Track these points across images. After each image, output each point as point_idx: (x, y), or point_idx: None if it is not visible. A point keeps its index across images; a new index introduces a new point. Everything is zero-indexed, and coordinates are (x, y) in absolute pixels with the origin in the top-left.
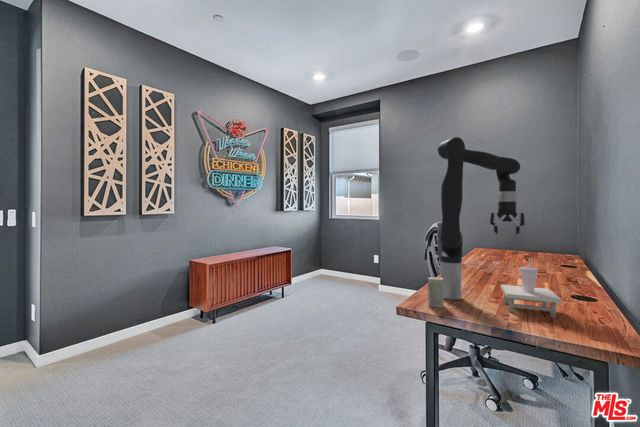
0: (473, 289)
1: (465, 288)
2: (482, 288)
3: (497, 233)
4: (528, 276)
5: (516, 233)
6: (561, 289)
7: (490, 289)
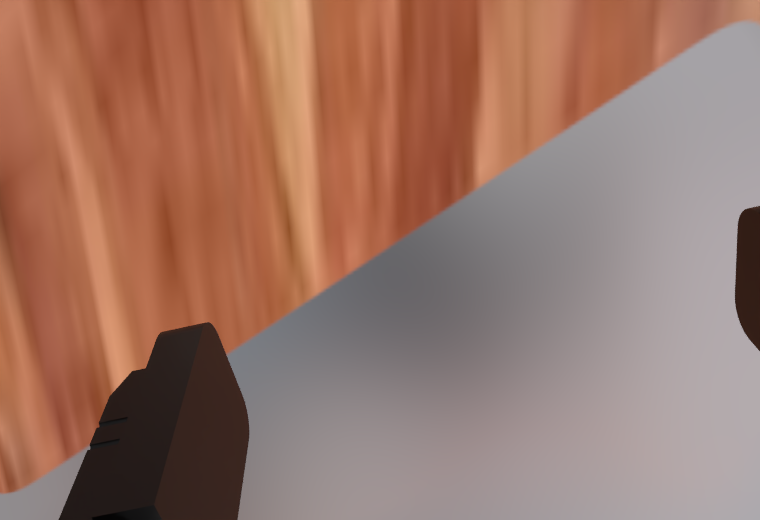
0: (642, 14)
1: (712, 6)
2: (564, 105)
3: (744, 214)
4: None
5: (199, 331)
6: (40, 427)
7: (500, 111)
